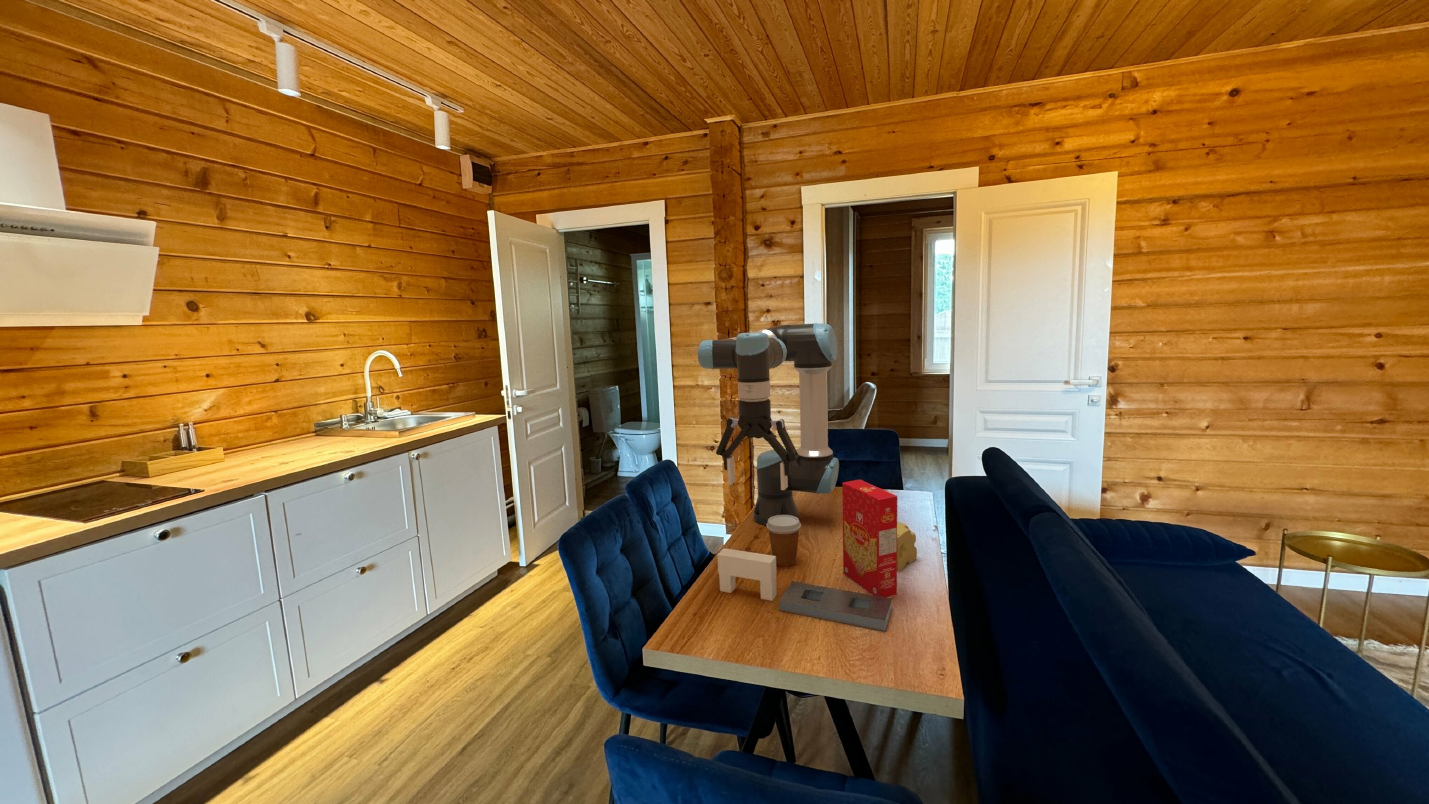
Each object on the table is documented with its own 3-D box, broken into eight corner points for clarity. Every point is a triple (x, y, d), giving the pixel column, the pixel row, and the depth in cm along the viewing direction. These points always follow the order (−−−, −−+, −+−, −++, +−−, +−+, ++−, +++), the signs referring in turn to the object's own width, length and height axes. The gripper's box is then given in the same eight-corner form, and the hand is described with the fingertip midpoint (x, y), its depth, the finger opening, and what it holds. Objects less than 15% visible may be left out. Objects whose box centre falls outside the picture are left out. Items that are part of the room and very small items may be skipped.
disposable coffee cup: (800, 569, 150) (799, 527, 148) (765, 568, 151) (764, 526, 150) (802, 554, 159) (801, 514, 157) (769, 553, 161) (768, 513, 159)
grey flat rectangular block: (779, 610, 130) (779, 600, 129) (792, 590, 139) (792, 581, 138) (885, 631, 120) (885, 620, 119) (892, 608, 128) (892, 598, 128)
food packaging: (843, 573, 146) (842, 482, 142) (860, 569, 148) (859, 479, 144) (878, 599, 133) (878, 499, 129) (896, 594, 134) (897, 495, 130)
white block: (719, 591, 140) (717, 554, 138) (725, 584, 143) (724, 548, 142) (771, 601, 134) (770, 563, 132) (777, 594, 137) (775, 556, 136)
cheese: (917, 559, 152) (917, 525, 151) (898, 573, 145) (898, 537, 143) (882, 549, 160) (882, 516, 158) (862, 562, 152) (862, 527, 151)
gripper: (699, 400, 132) (704, 485, 136) (800, 402, 121) (803, 495, 125) (713, 395, 139) (717, 476, 142) (810, 397, 128) (812, 485, 131)
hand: (757, 485), depth 133 cm, fingers open, 13 cm apart
